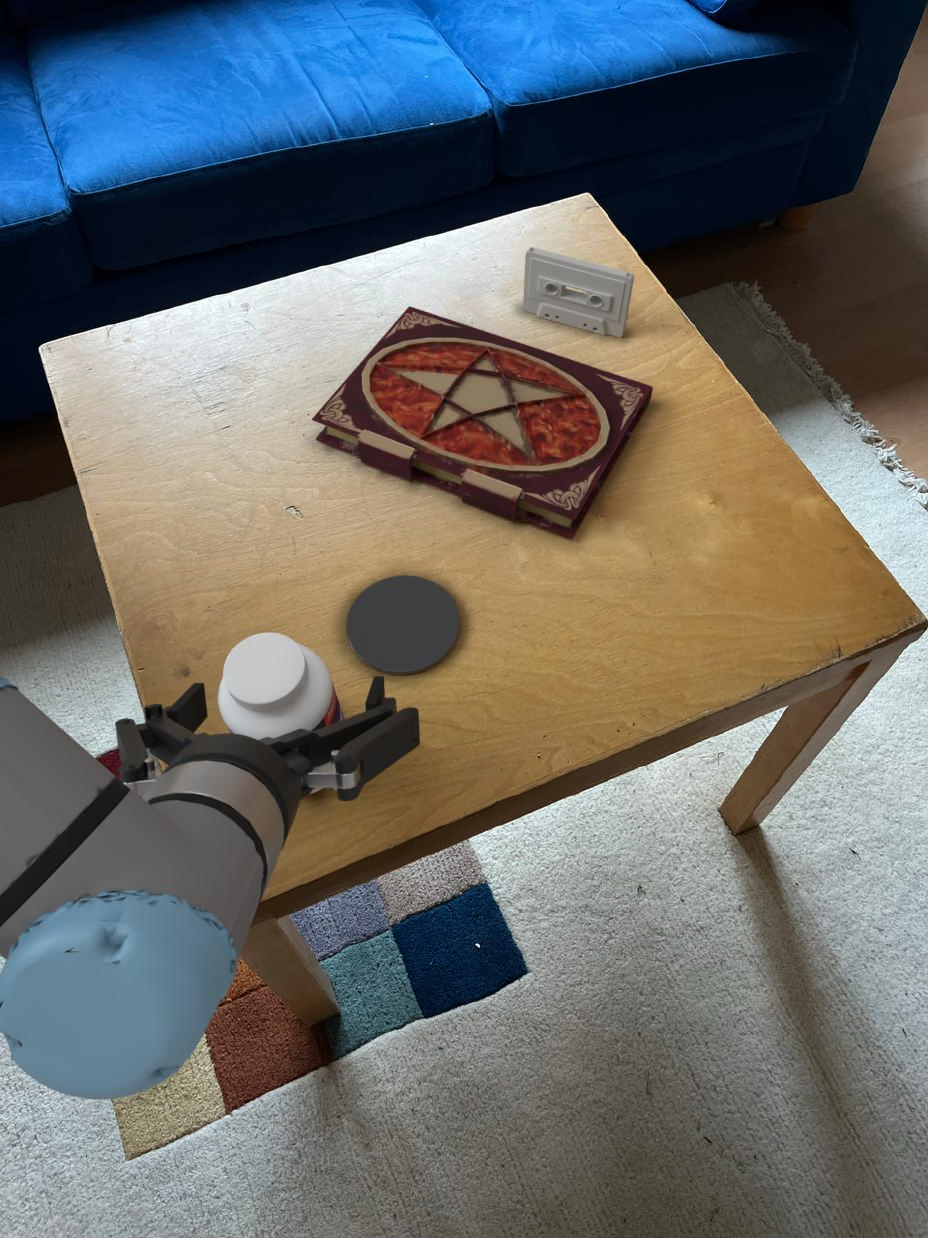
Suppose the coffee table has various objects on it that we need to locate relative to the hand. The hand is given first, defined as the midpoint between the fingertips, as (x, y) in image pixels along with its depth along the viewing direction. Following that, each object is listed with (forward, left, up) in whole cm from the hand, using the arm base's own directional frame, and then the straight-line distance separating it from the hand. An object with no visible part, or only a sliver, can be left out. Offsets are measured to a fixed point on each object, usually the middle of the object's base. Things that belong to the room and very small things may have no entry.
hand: (290, 696), depth 65 cm
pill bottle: (0, -2, -7) cm, 7 cm away
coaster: (+6, +11, -6) cm, 14 cm away
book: (+10, +36, -7) cm, 38 cm away
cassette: (+18, +53, -7) cm, 57 cm away
